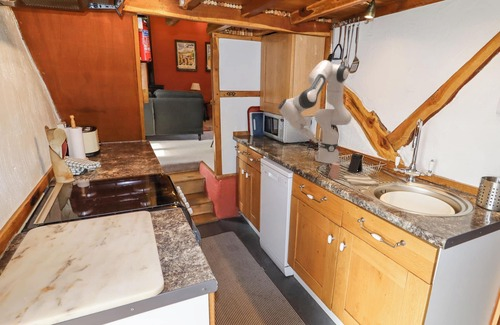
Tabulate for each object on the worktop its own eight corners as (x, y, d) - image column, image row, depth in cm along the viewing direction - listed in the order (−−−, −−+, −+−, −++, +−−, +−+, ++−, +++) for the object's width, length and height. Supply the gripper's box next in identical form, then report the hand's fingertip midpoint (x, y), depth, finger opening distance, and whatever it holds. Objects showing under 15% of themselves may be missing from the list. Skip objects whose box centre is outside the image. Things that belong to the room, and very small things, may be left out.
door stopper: (355, 173, 184) (357, 155, 181) (347, 171, 189) (349, 154, 185) (362, 171, 190) (365, 154, 186) (354, 169, 194) (357, 152, 191)
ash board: (342, 176, 176) (342, 175, 175) (367, 177, 176) (367, 175, 176) (351, 185, 161) (351, 183, 161) (378, 186, 162) (378, 184, 161)
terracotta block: (330, 176, 175) (331, 163, 173) (336, 177, 175) (338, 163, 173) (332, 178, 171) (333, 164, 169) (338, 179, 171) (340, 165, 169)
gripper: (307, 122, 153) (323, 140, 156) (300, 118, 173) (314, 134, 176) (298, 129, 155) (314, 147, 157) (292, 125, 174) (306, 141, 177)
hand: (314, 140), depth 167 cm, fingers open, 8 cm apart
